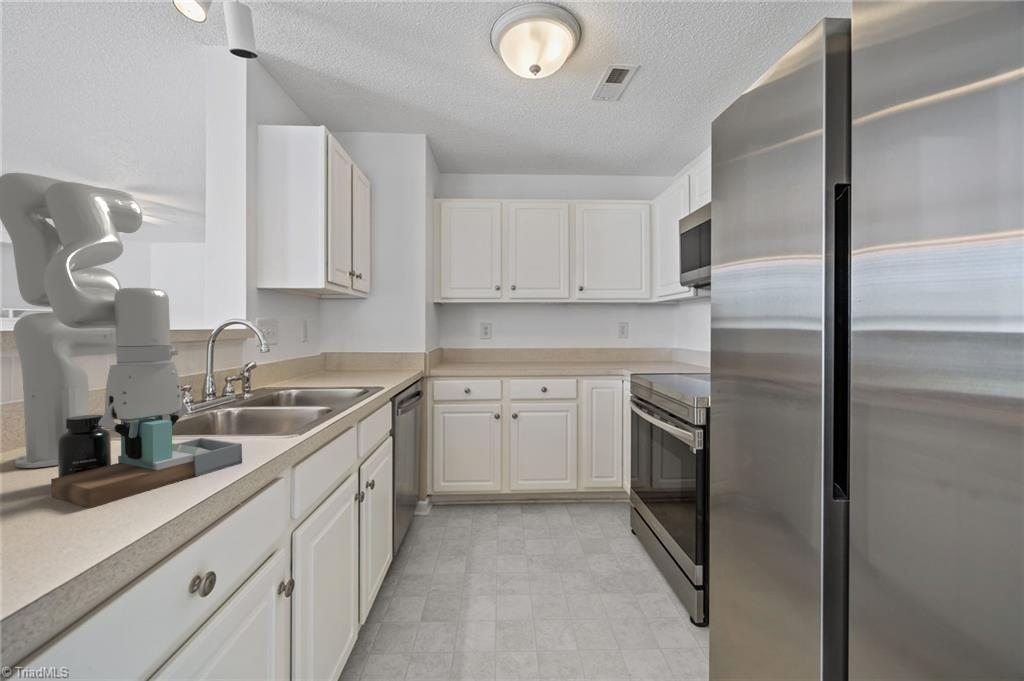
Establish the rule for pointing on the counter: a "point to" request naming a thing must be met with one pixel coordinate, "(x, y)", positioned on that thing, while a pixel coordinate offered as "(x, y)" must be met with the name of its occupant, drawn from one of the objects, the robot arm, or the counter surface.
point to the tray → (214, 455)
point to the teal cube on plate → (155, 446)
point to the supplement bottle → (83, 445)
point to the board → (115, 482)
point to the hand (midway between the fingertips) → (148, 454)
